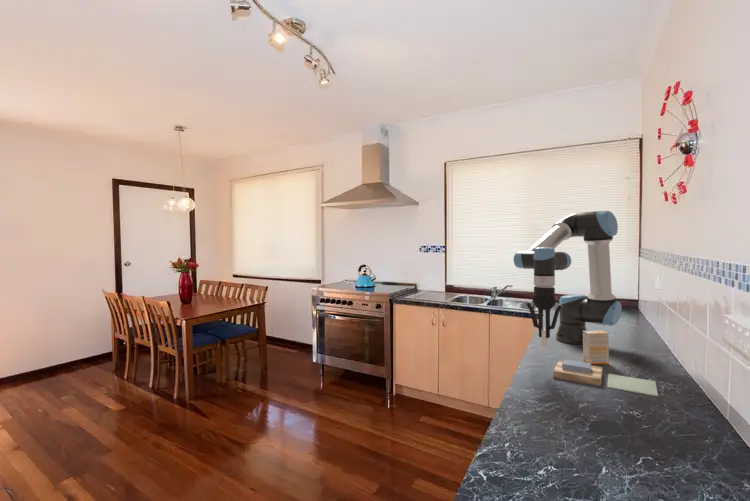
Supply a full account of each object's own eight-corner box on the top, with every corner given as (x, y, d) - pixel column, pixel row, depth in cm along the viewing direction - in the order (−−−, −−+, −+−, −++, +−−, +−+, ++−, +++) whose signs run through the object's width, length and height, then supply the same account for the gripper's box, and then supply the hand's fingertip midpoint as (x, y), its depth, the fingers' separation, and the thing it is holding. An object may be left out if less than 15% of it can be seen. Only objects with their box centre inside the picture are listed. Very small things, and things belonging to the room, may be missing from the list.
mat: (608, 374, 136) (608, 373, 136) (655, 382, 128) (655, 381, 128) (607, 387, 125) (607, 386, 125) (658, 396, 116) (658, 395, 116)
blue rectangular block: (562, 369, 136) (562, 363, 136) (564, 364, 141) (564, 359, 141) (589, 373, 131) (589, 368, 131) (590, 368, 136) (590, 363, 136)
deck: (558, 366, 146) (558, 360, 146) (602, 373, 137) (602, 367, 137) (553, 377, 134) (553, 371, 134) (600, 386, 126) (600, 379, 126)
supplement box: (603, 360, 151) (602, 330, 151) (609, 364, 147) (609, 333, 146) (582, 360, 152) (582, 330, 152) (588, 364, 147) (587, 332, 147)
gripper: (524, 286, 142) (524, 345, 143) (561, 288, 135) (561, 350, 135) (528, 284, 148) (528, 341, 149) (564, 286, 141) (564, 346, 141)
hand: (544, 345), depth 142 cm, fingers closed
